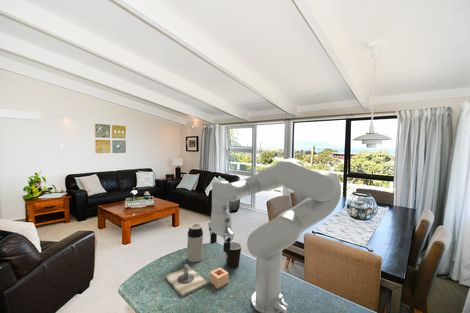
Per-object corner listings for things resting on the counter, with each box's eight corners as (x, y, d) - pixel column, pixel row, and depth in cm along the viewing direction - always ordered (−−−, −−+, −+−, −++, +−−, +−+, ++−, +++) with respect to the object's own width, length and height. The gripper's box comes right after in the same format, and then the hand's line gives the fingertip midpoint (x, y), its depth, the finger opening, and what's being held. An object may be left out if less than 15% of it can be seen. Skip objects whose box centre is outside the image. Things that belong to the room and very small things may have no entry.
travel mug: (203, 255, 118) (203, 223, 117) (201, 262, 110) (202, 228, 109) (188, 254, 118) (189, 223, 117) (186, 262, 110) (186, 228, 109)
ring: (228, 282, 94) (228, 273, 94) (217, 288, 90) (217, 278, 90) (220, 276, 99) (220, 267, 98) (209, 281, 95) (209, 271, 94)
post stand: (207, 284, 93) (207, 268, 92) (182, 297, 85) (182, 279, 84) (188, 268, 105) (189, 254, 104) (165, 277, 97) (165, 262, 96)
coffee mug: (241, 269, 104) (241, 250, 104) (223, 269, 105) (224, 249, 104) (240, 257, 116) (241, 239, 116) (225, 257, 116) (225, 239, 116)
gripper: (240, 211, 89) (239, 251, 90) (215, 203, 102) (215, 238, 103) (226, 215, 84) (225, 257, 85) (202, 205, 97) (202, 242, 98)
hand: (219, 246), depth 94 cm, fingers open, 9 cm apart
